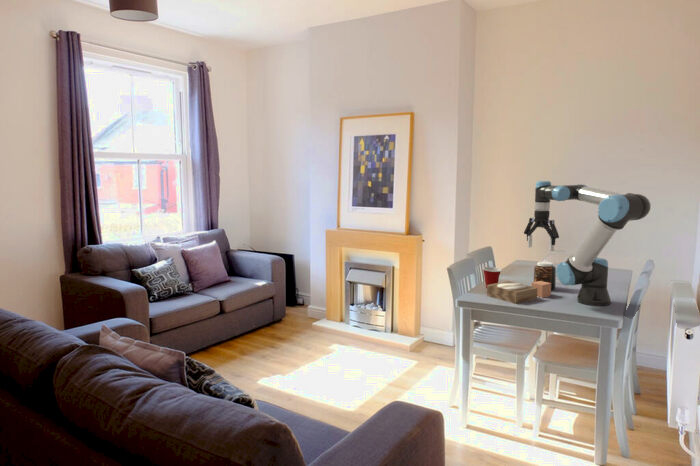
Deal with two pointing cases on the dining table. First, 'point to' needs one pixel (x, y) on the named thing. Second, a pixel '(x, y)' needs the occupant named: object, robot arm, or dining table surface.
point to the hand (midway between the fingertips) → (540, 249)
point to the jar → (545, 273)
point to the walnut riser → (512, 292)
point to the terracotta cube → (542, 288)
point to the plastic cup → (491, 275)
